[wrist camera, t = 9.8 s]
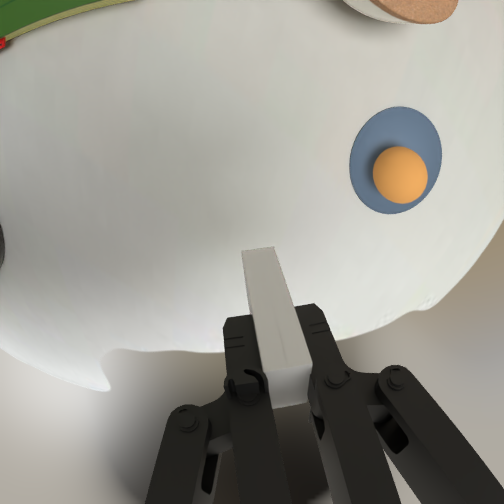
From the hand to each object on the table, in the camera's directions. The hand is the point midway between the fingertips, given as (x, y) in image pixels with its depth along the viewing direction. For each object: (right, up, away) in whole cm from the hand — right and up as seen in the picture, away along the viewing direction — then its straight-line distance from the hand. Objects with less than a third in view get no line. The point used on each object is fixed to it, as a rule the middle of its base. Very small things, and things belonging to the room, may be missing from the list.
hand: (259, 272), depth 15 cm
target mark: (+15, +10, +13) cm, 22 cm away
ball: (+14, +8, +11) cm, 19 cm away
